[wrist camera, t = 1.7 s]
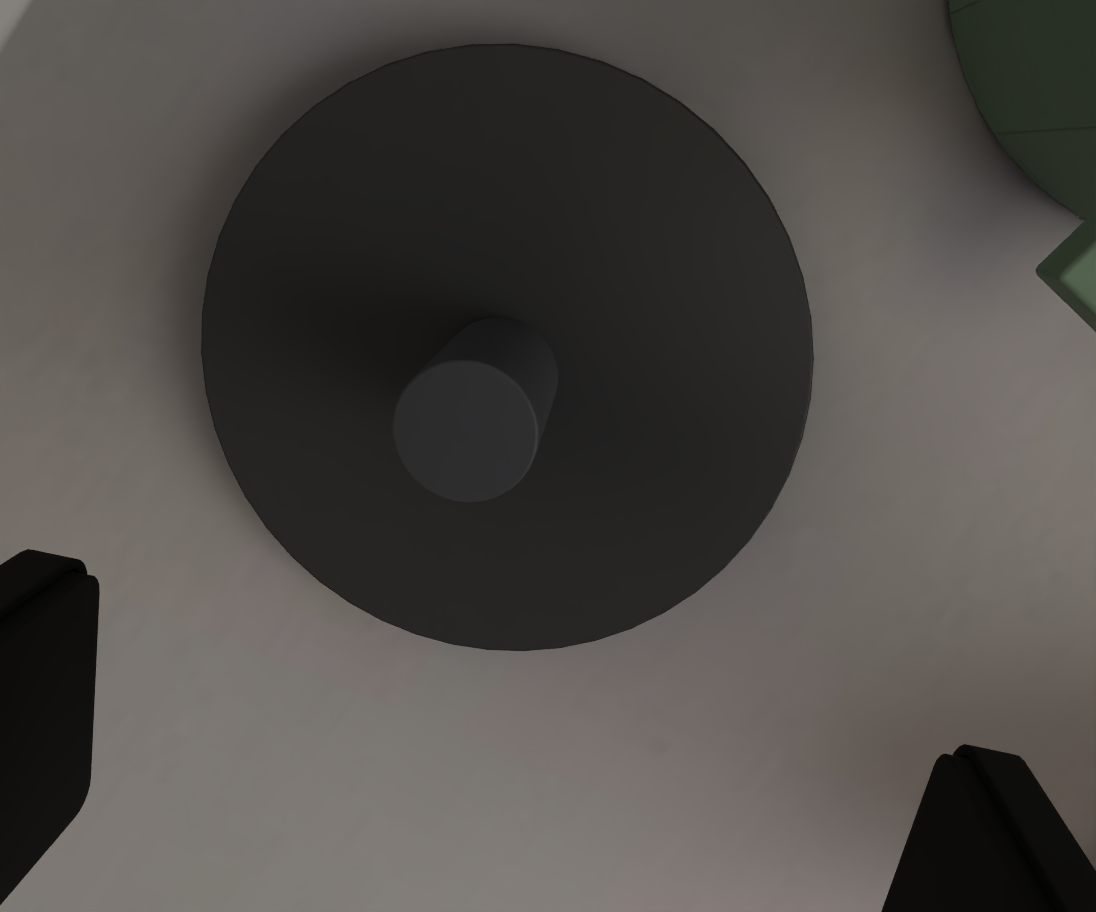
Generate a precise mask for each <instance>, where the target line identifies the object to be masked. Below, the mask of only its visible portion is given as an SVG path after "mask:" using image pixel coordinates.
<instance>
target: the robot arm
mask: <svg viewBox="0 0 1096 912" xmlns="http://www.w3.org/2000/svg"><path fill="white" fill-rule="evenodd" d="M98 613H99V583H98V580H97V578H96V577H95V576H91V575H87V570H86V567H85V564H84V563H83V562H82V561H81V560H79V559H74V558H69V557H64V556H60V555H55V554H50V553H45V552H40V551H36V550H29V549H27V550H25V551H22V552H20V553H18V554H17V555H15V556H14V557H12V558H11V559H9V560H7V561H6V562H4V563H3V564H1V565H0V905H1V904H2V903H3V901H4V900H5V899H6V898H7V897H8V895H9V894H10V893H11V892H12V891H13V890H14V888H15V887H16V886H17V885H18V884H19V883H20V881H21V880H22V879H23V878H24V877H25V875H26V874H27V873H28V872H29V871H30V870H31V868H32V867H33V866H34V865H35V864H36V863H37V861H38V860H39V859H40V858H41V857H42V856H43V854H44V853H45V852H46V851H47V850H48V848H49V847H50V846H51V845H52V844H53V843H54V841H55V840H56V839H57V838H58V837H59V836H60V834H61V833H62V832H63V831H64V830H65V828H66V827H67V826H68V825H69V824H70V823H71V821H72V820H73V819H74V818H75V817H76V815H77V814H78V812H79V811H80V809H81V807H82V806H83V804H84V802H85V799H86V797H87V794H88V790H89V787H90V780H91V763H92V741H93V720H94V699H95V677H96V656H97V634H98ZM881 912H1096V871H1095V869H1094V868H1093V866H1092V864H1091V863H1090V861H1089V860H1088V858H1087V857H1086V855H1085V854H1084V852H1083V851H1082V849H1081V847H1080V846H1079V844H1078V843H1077V841H1076V840H1075V838H1074V837H1073V835H1072V834H1071V832H1070V831H1069V829H1068V827H1067V826H1066V824H1065V823H1064V821H1063V820H1062V818H1061V817H1060V815H1059V814H1058V812H1057V810H1056V809H1055V807H1054V806H1053V804H1052V803H1051V801H1050V800H1049V798H1048V797H1047V795H1046V794H1045V792H1044V790H1043V789H1042V787H1041V786H1040V784H1039V783H1038V781H1037V780H1036V778H1035V777H1034V775H1033V773H1032V772H1031V770H1030V769H1029V767H1028V766H1027V764H1026V763H1025V761H1024V760H1023V759H1022V758H1021V757H1020V756H1018V755H1014V754H1010V753H1005V752H1000V751H995V750H990V749H986V748H981V747H976V746H971V745H966V744H964V745H961V746H959V747H958V748H957V750H956V751H955V752H954V754H953V755H948V754H942V755H940V757H939V758H938V759H937V760H936V762H935V765H934V767H933V770H932V772H931V775H930V778H929V781H928V784H927V786H926V789H925V792H924V795H923V797H922V800H921V803H920V806H919V809H918V811H917V814H916V817H915V820H914V822H913V825H912V828H911V831H910V834H909V836H908V839H907V842H906V845H905V847H904V850H903V853H902V856H901V859H900V861H899V864H898V867H897V870H896V872H895V875H894V878H893V881H892V884H891V886H890V889H889V892H888V895H887V897H886V900H885V903H884V906H883V909H882V911H881Z"/></svg>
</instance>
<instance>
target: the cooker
mask: <svg viewBox="0 0 1096 912" xmlns="http://www.w3.org/2000/svg"><path fill="white" fill-rule="evenodd" d="M948 5H949V12H950V19H951V25H952V32H953V38H954V41H955V45H956V48H957V52H958V55H959V59H960V62H961V65H962V69H963V72H964V76H965V78H966V81H967V83H968V85H969V87H970V90H971V92H972V94H973V96H974V99H975V101H976V103H977V105H978V108H979V110H980V112H981V114H982V116H983V117H984V119H985V120H986V122H987V124H988V125H989V127H990V128H991V130H992V131H993V133H994V135H995V136H996V138H997V139H998V141H999V142H1000V144H1001V146H1002V147H1003V148H1004V149H1005V151H1006V152H1007V153H1008V154H1009V155H1010V156H1011V158H1012V159H1013V160H1014V161H1015V162H1016V163H1017V164H1018V166H1019V167H1020V168H1021V169H1022V170H1023V171H1024V173H1025V174H1026V175H1027V176H1028V177H1029V178H1030V179H1032V180H1033V181H1034V182H1035V183H1036V184H1037V185H1039V186H1040V187H1041V188H1042V189H1043V190H1044V191H1046V192H1047V193H1048V194H1049V195H1050V196H1051V197H1053V198H1054V199H1055V200H1056V201H1057V202H1059V203H1061V204H1062V205H1064V206H1066V207H1067V208H1069V209H1070V210H1071V211H1072V212H1073V213H1074V214H1075V215H1076V216H1079V218H1080V219H1081V220H1084V222H1083V223H1082V224H1081V225H1080V226H1079V227H1078V228H1077V229H1076V230H1075V231H1074V232H1073V233H1072V234H1071V235H1070V236H1069V237H1068V238H1067V239H1065V240H1064V241H1063V242H1062V243H1061V244H1060V245H1059V246H1058V247H1057V248H1056V249H1055V250H1054V251H1053V252H1052V253H1051V254H1050V255H1049V256H1048V257H1047V258H1046V259H1045V260H1044V261H1043V262H1042V263H1041V264H1039V265H1038V267H1037V268H1036V273H1037V275H1038V276H1039V277H1040V278H1041V279H1042V280H1043V281H1044V282H1045V283H1046V284H1047V285H1048V286H1049V287H1050V288H1051V289H1052V290H1053V291H1054V292H1055V293H1056V294H1057V295H1058V296H1059V297H1060V298H1061V299H1062V300H1063V301H1064V302H1066V303H1067V304H1068V305H1069V306H1070V307H1071V308H1072V309H1073V310H1074V311H1075V312H1076V313H1077V314H1078V315H1079V316H1080V317H1081V318H1082V319H1083V320H1084V321H1085V322H1086V323H1087V324H1088V325H1089V326H1090V327H1091V328H1092V329H1093V330H1094V331H1095V332H1096V0H948Z"/></svg>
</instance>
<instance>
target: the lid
mask: <svg viewBox="0 0 1096 912" xmlns="http://www.w3.org/2000/svg"><path fill="white" fill-rule="evenodd" d="M201 354H202V363H203V372H204V381H205V390H206V395H207V399H208V403H209V407H210V411H211V415H212V419H213V423H214V428H215V431H216V433H217V436H218V438H219V441H220V444H221V446H222V449H223V452H224V454H225V457H226V460H227V462H228V465H229V467H230V468H231V470H232V472H233V474H234V476H235V478H236V480H237V482H238V484H239V486H240V488H241V489H242V491H243V493H244V495H245V497H246V499H247V500H248V502H249V503H250V504H251V506H252V507H253V509H254V510H255V512H256V513H257V515H258V516H259V518H260V519H261V520H262V522H263V523H264V525H265V526H266V528H267V529H268V530H269V531H270V532H271V534H272V535H273V536H274V537H275V538H276V539H277V540H278V542H279V543H280V544H281V545H282V546H283V547H284V548H285V549H286V551H287V552H288V553H289V554H290V555H291V556H292V557H293V558H294V559H295V560H296V561H297V562H298V563H299V564H301V565H302V566H303V567H304V568H305V569H306V570H307V571H308V572H309V573H311V574H312V575H313V576H314V577H315V578H316V579H317V580H318V581H319V582H321V583H322V584H324V585H325V586H326V587H328V588H329V589H331V590H332V591H334V592H335V593H336V594H338V595H339V596H341V597H342V598H343V599H345V600H346V601H348V602H349V603H351V604H353V605H354V606H356V607H358V608H360V609H362V610H363V611H365V612H367V613H369V614H371V615H373V616H374V617H376V618H378V619H380V620H382V621H384V622H387V623H389V624H392V625H394V626H396V627H399V628H401V629H404V630H406V631H409V632H411V633H414V634H416V635H420V636H424V637H427V638H431V639H434V640H438V641H442V642H445V643H449V644H454V645H460V646H467V647H473V648H480V649H486V650H510V651H530V650H542V649H554V648H562V647H567V646H572V645H577V644H582V643H587V642H592V641H596V640H599V639H602V638H605V637H608V636H611V635H614V634H617V633H620V632H623V631H626V630H629V629H631V628H634V627H636V626H638V625H640V624H642V623H644V622H646V621H648V620H650V619H652V618H654V617H656V616H658V615H661V614H663V613H664V612H666V611H668V610H669V609H671V608H672V607H674V606H675V605H677V604H678V603H680V602H682V601H683V600H685V599H686V598H688V597H689V596H691V595H692V594H694V593H695V592H697V591H698V590H699V589H700V588H701V587H703V586H704V585H705V584H706V583H707V582H708V581H710V580H711V579H712V578H713V577H714V576H716V575H717V574H718V573H719V572H720V571H721V570H723V569H724V568H725V567H726V566H727V565H728V563H729V562H730V561H731V560H732V559H733V558H734V557H735V556H736V555H737V554H738V552H739V551H740V550H741V549H742V548H743V547H744V546H745V545H746V544H747V543H748V542H749V540H750V539H751V538H752V536H753V535H754V533H755V532H756V530H757V529H758V528H759V526H760V525H761V523H762V522H763V520H764V519H765V518H766V516H767V515H768V513H769V512H770V510H771V509H772V507H773V505H774V503H775V501H776V499H777V497H778V495H779V493H780V491H781V490H782V488H783V486H784V484H785V482H786V480H787V478H788V476H789V474H790V471H791V468H792V465H793V463H794V460H795V457H796V454H797V451H798V449H799V446H800V443H801V440H802V437H803V432H804V428H805V423H806V418H807V414H808V409H809V404H810V400H811V388H812V374H813V361H814V356H813V339H812V323H811V314H810V309H809V304H808V299H807V294H806V289H805V284H804V279H803V275H802V272H801V269H800V266H799V264H798V261H797V258H796V255H795V252H794V249H793V246H792V243H791V241H790V238H789V235H788V233H787V231H786V229H785V227H784V225H783V224H782V222H781V220H780V218H779V216H778V214H777V212H776V210H775V208H774V206H773V204H772V202H771V200H770V198H769V197H768V195H767V194H766V192H765V191H764V189H763V188H762V186H761V185H760V184H759V182H758V181H757V179H756V178H755V176H754V175H753V174H752V172H751V171H750V169H749V168H748V166H747V165H746V164H745V162H744V161H743V160H742V159H741V158H740V157H739V156H738V155H737V153H736V152H735V151H734V150H733V149H732V148H731V147H730V146H729V145H728V144H727V143H726V142H725V140H724V139H723V138H722V137H721V136H720V135H719V134H718V133H717V132H716V131H715V130H714V129H713V128H712V127H711V126H709V125H708V124H707V123H706V122H704V121H703V120H702V119H701V118H700V117H698V116H697V115H696V114H695V113H693V112H692V111H691V110H690V109H689V108H687V107H686V106H685V105H684V104H682V103H681V102H680V101H678V100H677V99H675V98H673V97H672V96H670V95H668V94H667V93H665V92H663V91H662V90H660V89H659V88H657V87H655V86H654V85H652V84H650V83H649V82H647V81H645V80H644V79H642V78H640V77H637V76H635V75H633V74H630V73H628V72H626V71H624V70H621V69H619V68H617V67H614V66H612V65H610V64H607V63H605V62H603V61H600V60H596V59H592V58H589V57H585V56H581V55H578V54H574V53H570V52H567V51H563V50H559V49H552V48H544V47H537V46H529V45H521V44H471V45H465V46H458V47H452V48H446V49H440V50H433V51H428V52H424V53H421V54H418V55H415V56H412V57H408V58H405V59H402V60H399V61H396V62H392V63H389V64H386V65H384V66H382V67H380V68H378V69H376V70H374V71H372V72H370V73H368V74H365V75H363V76H361V77H359V78H357V79H355V80H353V81H351V82H349V83H347V84H346V85H344V86H343V87H341V88H340V89H338V90H337V91H335V92H334V93H332V94H331V95H329V96H328V97H326V98H325V99H323V100H322V101H320V102H319V103H317V104H316V105H314V106H313V107H312V108H311V109H310V110H309V111H307V112H306V113H305V114H304V115H303V116H302V117H301V118H300V119H299V120H297V121H296V122H295V123H294V124H293V125H292V126H291V127H290V128H289V129H287V130H286V131H285V132H284V133H283V134H282V135H281V136H280V138H279V139H278V140H277V141H276V142H275V144H274V145H273V146H272V147H271V148H270V150H269V151H268V152H267V153H266V154H265V156H264V157H263V158H262V159H261V160H260V162H259V163H258V164H257V165H256V167H255V168H254V170H253V172H252V173H251V175H250V176H249V178H248V180H247V181H246V183H245V184H244V186H243V188H242V189H241V191H240V193H239V194H238V196H237V197H236V199H235V201H234V203H233V205H232V208H231V210H230V212H229V214H228V217H227V219H226V221H225V223H224V226H223V228H222V230H221V233H220V235H219V237H218V241H217V244H216V248H215V251H214V255H213V258H212V262H211V265H210V269H209V272H208V276H207V283H206V290H205V297H204V303H203V310H202V343H201Z"/></svg>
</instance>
